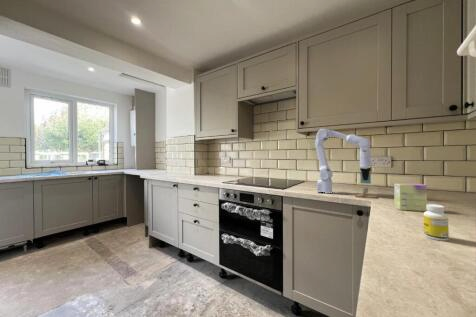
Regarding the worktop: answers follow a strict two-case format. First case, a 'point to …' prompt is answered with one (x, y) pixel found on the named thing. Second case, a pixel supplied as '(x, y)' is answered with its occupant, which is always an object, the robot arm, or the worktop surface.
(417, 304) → the worktop surface
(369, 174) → the teal rectangular block
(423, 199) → the box
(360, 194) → the post board
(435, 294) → the worktop surface
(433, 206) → the supplement bottle
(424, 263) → the worktop surface
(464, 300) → the worktop surface
